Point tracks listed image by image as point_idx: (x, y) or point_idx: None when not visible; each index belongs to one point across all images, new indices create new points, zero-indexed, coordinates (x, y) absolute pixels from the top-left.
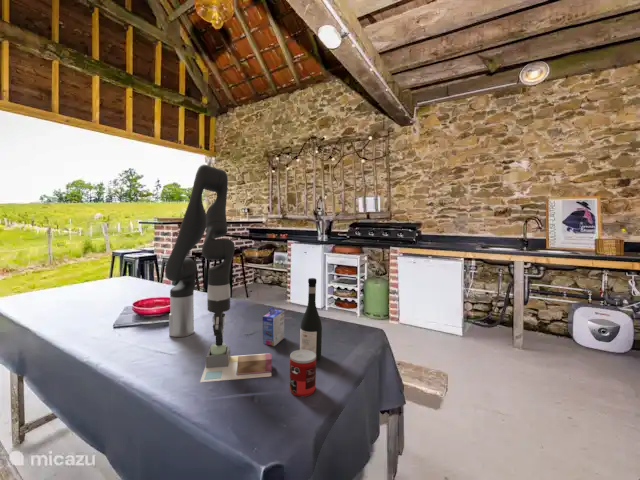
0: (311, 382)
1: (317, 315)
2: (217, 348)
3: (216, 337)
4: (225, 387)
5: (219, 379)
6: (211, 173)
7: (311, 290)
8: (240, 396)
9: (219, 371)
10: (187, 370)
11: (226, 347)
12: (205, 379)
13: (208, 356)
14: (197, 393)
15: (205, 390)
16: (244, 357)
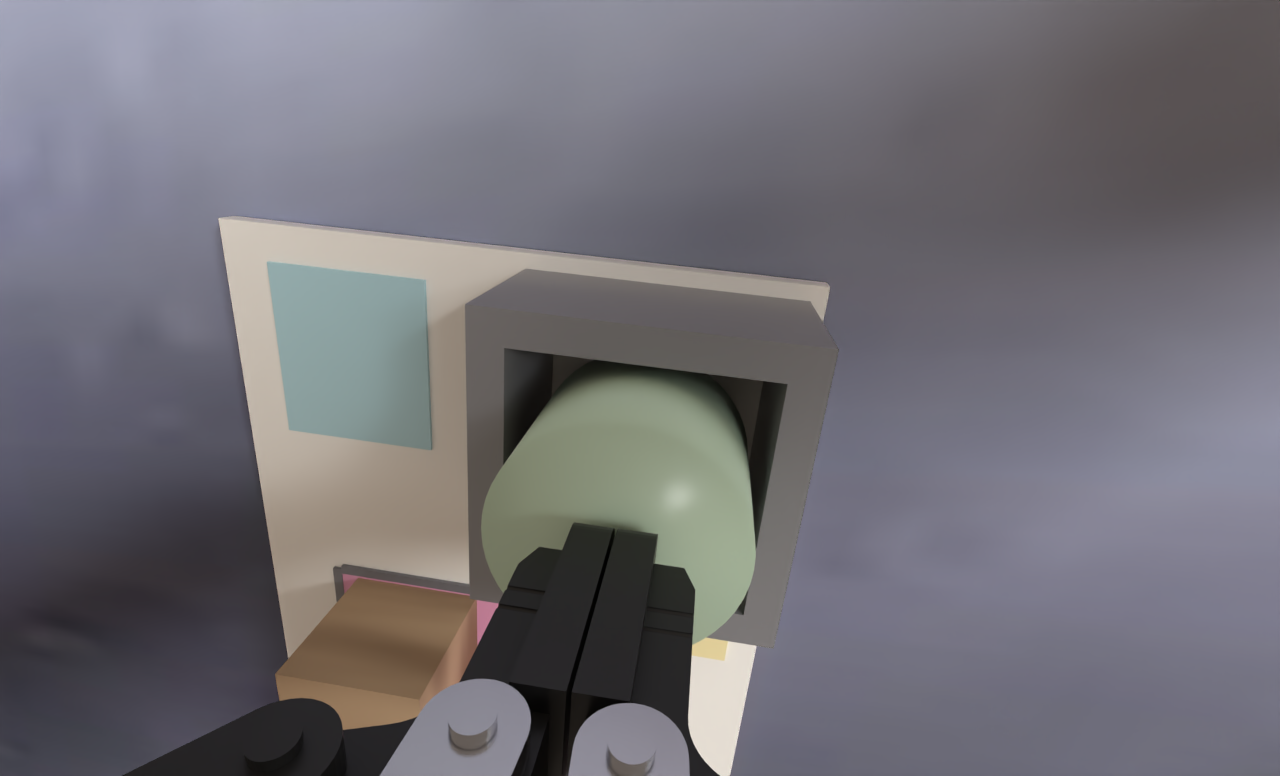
0: None
1: None
2: (490, 527)
3: (530, 651)
4: (185, 456)
5: (267, 417)
6: None
7: None
8: (73, 551)
9: (417, 422)
10: (567, 4)
11: (747, 598)
12: (270, 276)
13: (472, 343)
14: (76, 206)
15: (129, 281)
16: None
